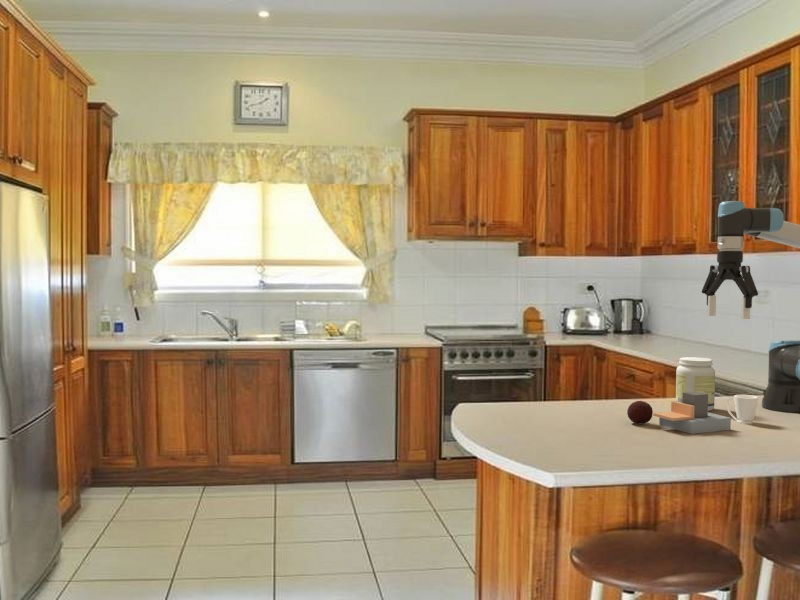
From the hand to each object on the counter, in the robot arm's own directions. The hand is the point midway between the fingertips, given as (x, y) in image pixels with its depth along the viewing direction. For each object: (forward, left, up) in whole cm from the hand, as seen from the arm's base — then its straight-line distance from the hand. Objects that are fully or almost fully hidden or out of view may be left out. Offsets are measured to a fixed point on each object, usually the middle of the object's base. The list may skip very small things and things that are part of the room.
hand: (728, 317), depth 244 cm
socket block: (+22, +9, -32) cm, 40 cm away
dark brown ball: (+34, -1, -32) cm, 47 cm away
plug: (+22, +9, -31) cm, 39 cm away
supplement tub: (0, -13, -32) cm, 34 cm away
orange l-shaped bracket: (+30, +9, -28) cm, 42 cm away
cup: (+2, +8, -32) cm, 33 cm away
